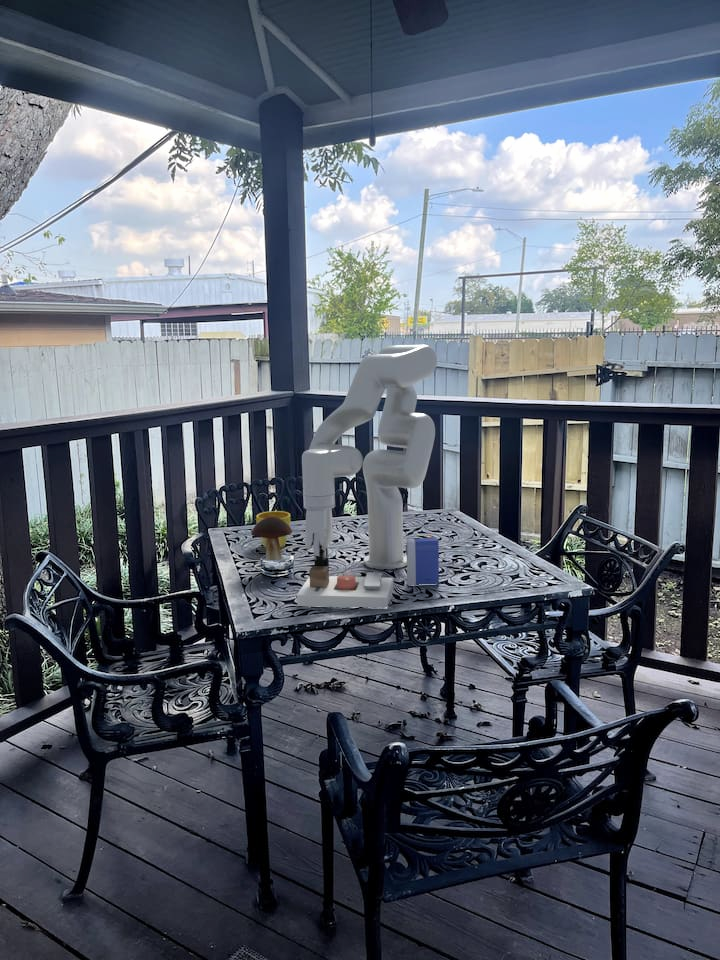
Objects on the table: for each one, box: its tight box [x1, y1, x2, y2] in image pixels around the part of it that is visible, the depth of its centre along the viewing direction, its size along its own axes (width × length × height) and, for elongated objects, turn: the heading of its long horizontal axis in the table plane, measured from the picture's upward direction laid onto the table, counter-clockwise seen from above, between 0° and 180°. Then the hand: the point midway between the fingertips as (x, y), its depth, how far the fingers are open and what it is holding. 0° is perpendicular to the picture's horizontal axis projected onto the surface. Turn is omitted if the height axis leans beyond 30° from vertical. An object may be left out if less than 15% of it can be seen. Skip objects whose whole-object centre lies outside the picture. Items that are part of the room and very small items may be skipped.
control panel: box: [296, 575, 394, 608], centre depth 156 cm, size 13×21×4 cm, turn 81°
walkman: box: [405, 535, 440, 585], centre depth 163 cm, size 8×3×12 cm, turn 96°
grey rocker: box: [364, 571, 383, 589], centre depth 155 cm, size 6×4×1 cm, turn 171°
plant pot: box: [255, 510, 291, 549], centre depth 200 cm, size 10×10×10 cm
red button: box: [337, 574, 356, 590], centre depth 156 cm, size 4×4×3 cm
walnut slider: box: [308, 565, 330, 587], centre depth 157 cm, size 3×4×4 cm
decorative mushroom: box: [251, 516, 293, 561], centre depth 177 cm, size 11×11×15 cm
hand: (322, 573), depth 160 cm, fingers closed
